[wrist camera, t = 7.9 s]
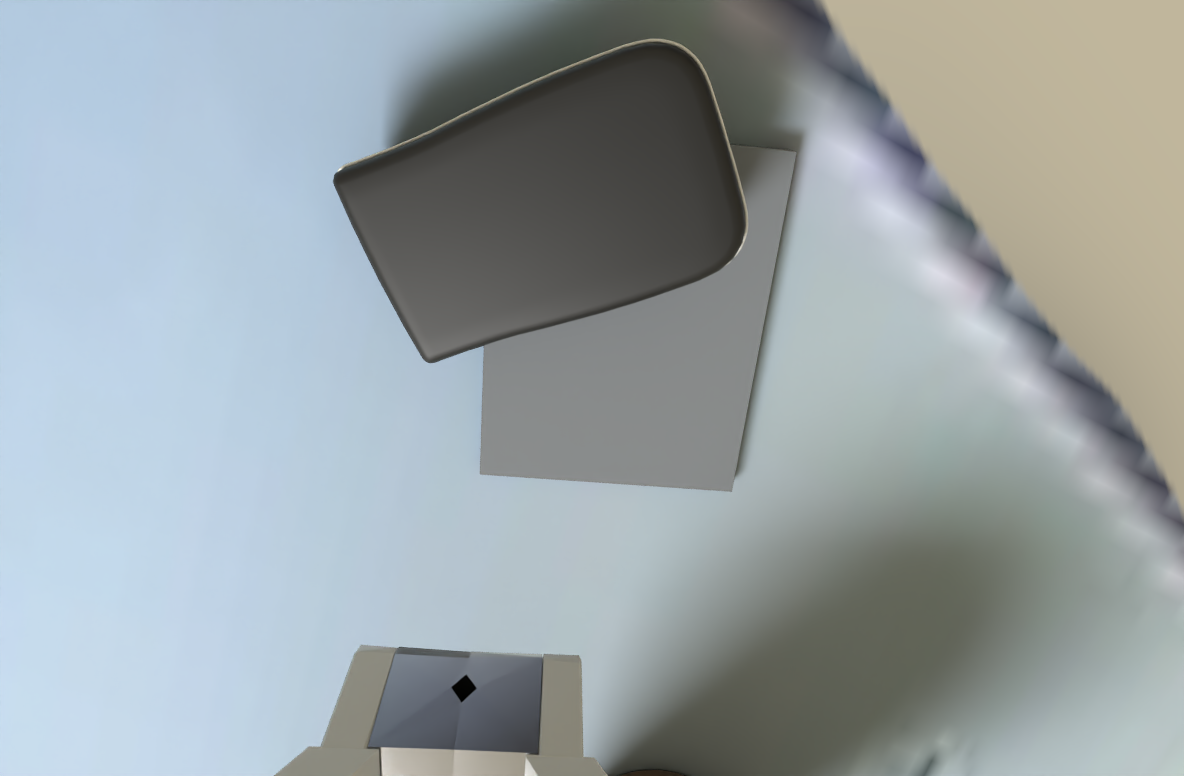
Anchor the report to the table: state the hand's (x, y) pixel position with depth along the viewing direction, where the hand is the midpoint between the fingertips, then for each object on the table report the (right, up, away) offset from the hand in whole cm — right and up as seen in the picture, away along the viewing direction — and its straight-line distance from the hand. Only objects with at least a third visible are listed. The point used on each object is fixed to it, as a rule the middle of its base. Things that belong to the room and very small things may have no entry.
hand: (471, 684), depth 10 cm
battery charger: (-5, +8, +14) cm, 17 cm away
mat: (+3, +7, +17) cm, 18 cm away
